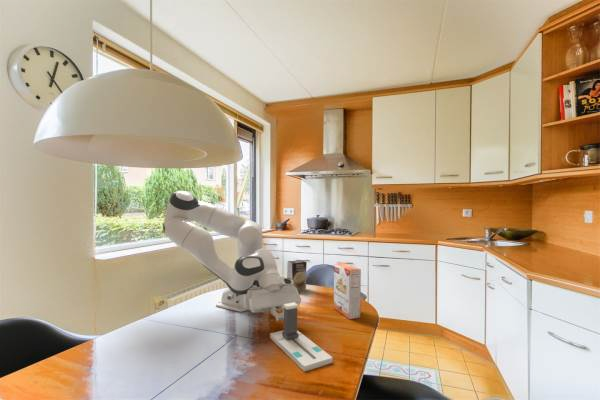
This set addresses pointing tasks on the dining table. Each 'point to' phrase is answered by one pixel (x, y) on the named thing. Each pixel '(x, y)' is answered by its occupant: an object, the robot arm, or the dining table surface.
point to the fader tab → (290, 321)
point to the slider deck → (302, 351)
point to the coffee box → (297, 274)
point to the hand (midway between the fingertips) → (280, 319)
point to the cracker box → (347, 290)
